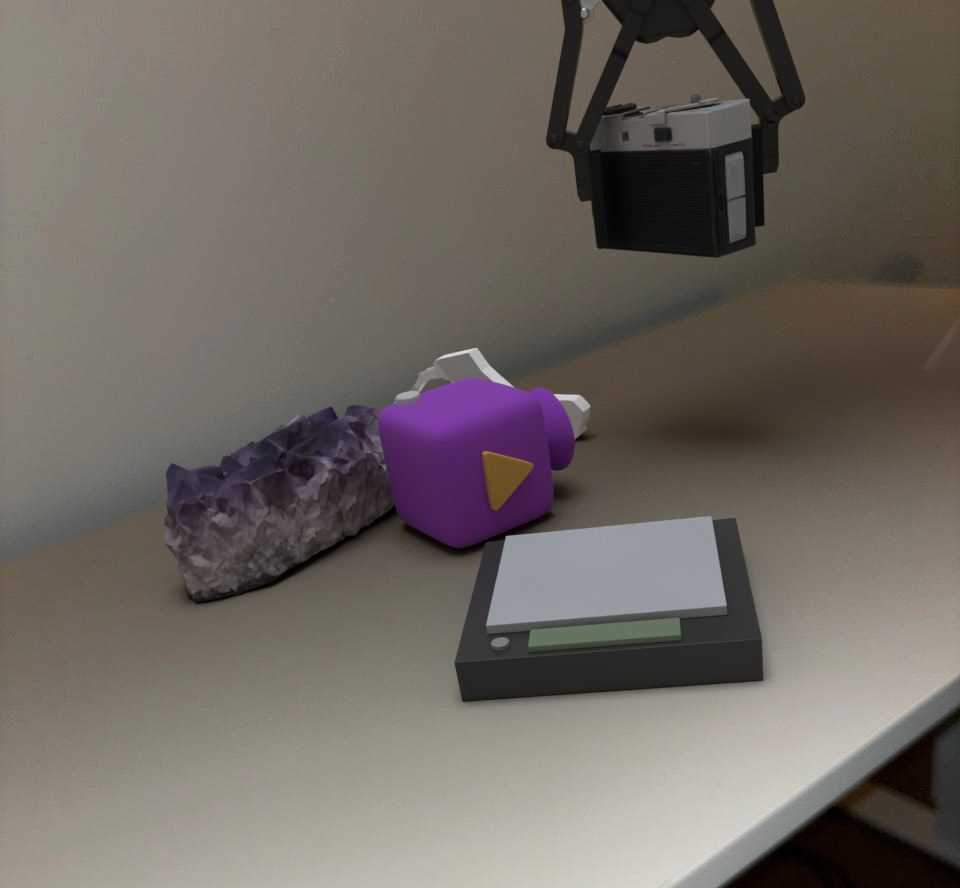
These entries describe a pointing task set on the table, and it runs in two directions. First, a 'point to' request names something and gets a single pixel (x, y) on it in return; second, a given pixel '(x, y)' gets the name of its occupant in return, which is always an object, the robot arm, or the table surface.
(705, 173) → the camera
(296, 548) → the geode
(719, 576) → the scale
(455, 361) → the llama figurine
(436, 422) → the toy camera
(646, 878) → the table surface
